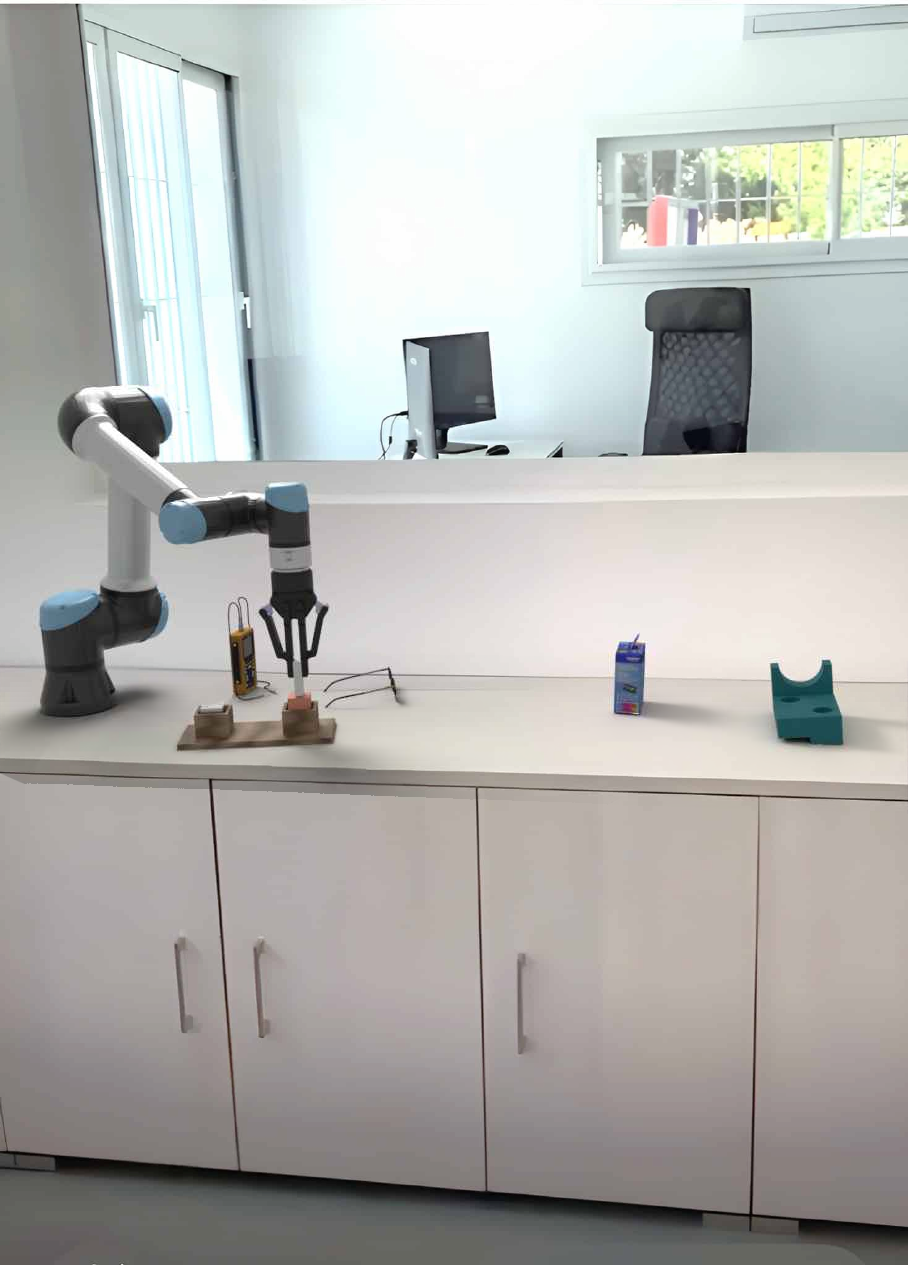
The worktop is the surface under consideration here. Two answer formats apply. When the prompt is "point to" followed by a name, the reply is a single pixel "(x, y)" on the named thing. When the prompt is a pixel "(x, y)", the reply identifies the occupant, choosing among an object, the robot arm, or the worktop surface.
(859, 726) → the worktop surface
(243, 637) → the multimeter
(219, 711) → the steel plug
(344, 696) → the sunglasses
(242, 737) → the socket panel
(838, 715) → the teal l-shaped bracket
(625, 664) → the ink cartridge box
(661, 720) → the worktop surface
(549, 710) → the worktop surface
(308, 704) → the salmon pink plug
